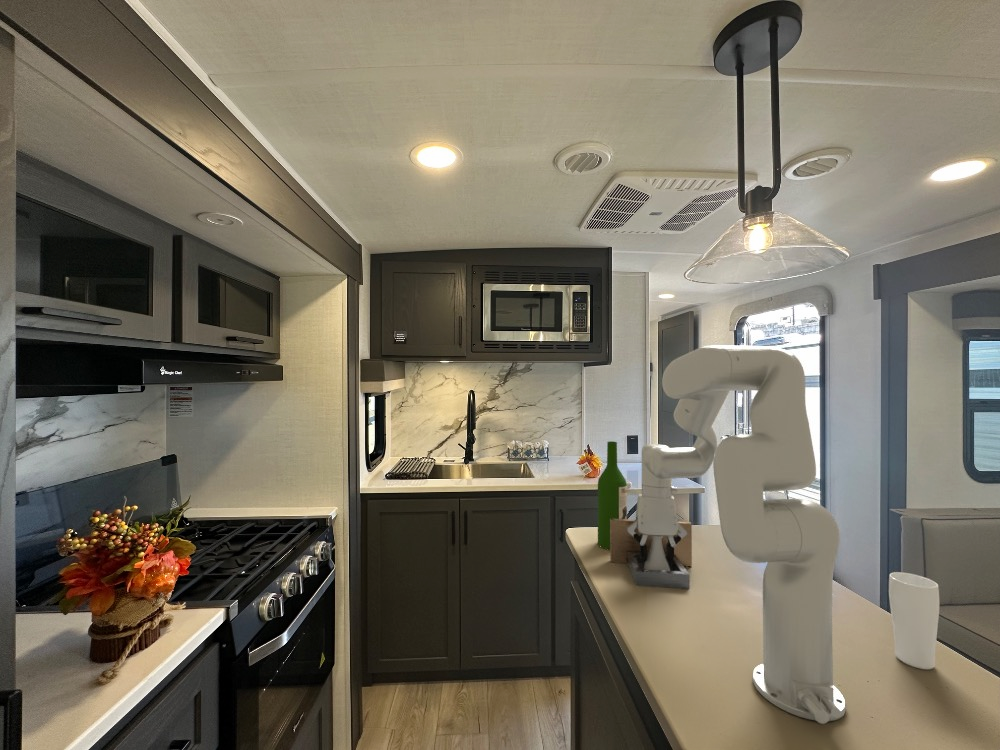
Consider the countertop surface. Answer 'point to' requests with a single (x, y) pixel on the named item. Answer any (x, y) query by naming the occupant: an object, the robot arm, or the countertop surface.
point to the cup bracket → (628, 551)
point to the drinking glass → (914, 618)
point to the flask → (656, 556)
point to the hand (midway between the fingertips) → (656, 559)
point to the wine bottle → (610, 496)
